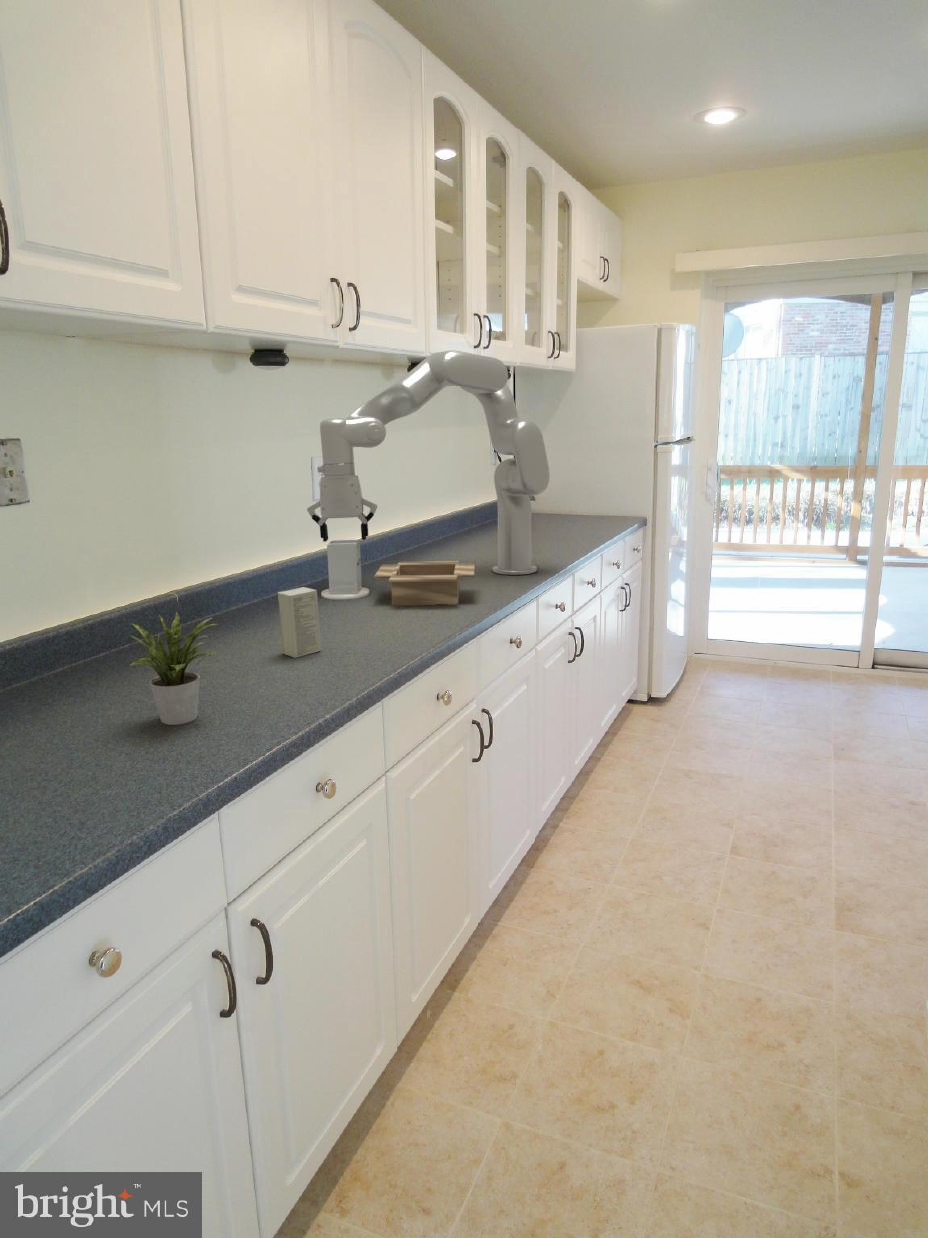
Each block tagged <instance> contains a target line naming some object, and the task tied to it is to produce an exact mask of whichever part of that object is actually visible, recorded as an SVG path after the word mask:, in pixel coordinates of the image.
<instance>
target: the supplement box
mask: <svg viewBox="0 0 928 1238" xmlns="http://www.w3.org/2000/svg"><path fill="white" fill-rule="evenodd" d="M360 541H361V540H360V539H341V540H340V539H337V540H335V539H334V540H331V541H330V542H329V543H328V544H326V549H327V550H326V551H327V569H328V570H327V571H328V573H327V574H328V589H329V592H330V594H358V592H359V590H360V589H361V588H362V587H363V586H362V584H363V583H362V582H363V581H362V562H361V542H360Z"/></svg>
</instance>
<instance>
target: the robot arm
mask: <svg viewBox="0 0 928 1238" xmlns="http://www.w3.org/2000/svg"><path fill="white" fill-rule="evenodd" d="M508 380H509V371H508V368H507V367H506V364H504V362H503V361H502V360H500V359H498V357H497V358H496V357H494V356H493V357H492V356H487V355H482V354H476V353H471V352H466V351H460V350H445V351H438V352H434V353H432V354H430V355H427V357H426V358H425V359H423V360H422V361H421V362H419V363H418V364H417V365H416V366H414V368H411V370H410V371H409V372H408V373H406V374H405V375H404V376H402V377H401V378H400V379H399V380H397V382H395V383H394V384H392V385H391V386H389V387H387V388H386V389H384V390H383V391H382V392H380V393H378V394H377V395H375V396H374V397H372V398H371V399H368V400H367V401H366V402H364V403H362V404H361V406H360V407H358V408H357V409H355V410H354V411H353V412H352V413H351V414H350V415H349V416H347V418H326V419H323V420H321V422H320V424H319V430H320V431H319V433H320V442H321V455H322V465H321V466H318V467H317V473H322V475H323V476H321V477H320V480H319V481H320V483H319V485H320V486H319V501H317V502H315V503H313V504H312V505H310V506H309V507H308V508H306V510H307V512H308V514H309V515H310V517H311V519H312V520H313V521H314V522H315V523H316V524H317V525H318V526H319V531H320V532H319V533H320V538H321V539H322V541H323V542H324V543H327V541H329V534H328V533H329V532H328V524H326V523H327V520H328V519H347V518H348V519H349V518H350V519H351V518H358V519H359V521H360V522H361V524H360V534H361V540H362V541H366V540H367V537H369V526H368V523H369V522H370V521H371V519H372V518H373V517H374V516H375V513H376V511H377V509H378V504H377V503H374V502H371V501H370V500H367V499H366V498H363V494H362V488H361V483H360V479H359V476H358V475H357V474H356V471H355V458H354V457H355V455H354V448H365V449H367V448H369V449H371V448H375V447H378V446H380V445H381V444H382V443H383V442H384V441H385V438H386V436H387V429H386V426H385V425H387V424H389V423H390V422H393V421H395V420H399V419H400V418H405V417H408V416H410V415H412V414H413V413H416V412H417V411H419V410H420V409H421V408H422V407H423V406H424V405H426V403H428V402H429V401H430V400H431V399H432V398H434V397H435V396H436V395H438V393H440V392H441V391H442V390H443V389H445V388H446V387H454V386H455V387H459V388H461V389H462V390H463V391H464V392H466V393H469V394H471V395H473V396H474V397H475V398H476V399H477V400H478V401H479V402H480V404H481V406H482V408H483V411H484V415H485V419H486V423H487V429H488V433H489V437H490V442H491V446H492V448H493V450H494V451H495V452H496V453H497V454H500V455H505V456H513V457H514V458H507V459H504V460H502V461H501V462H499V463H498V465H497V466H496V468H495V469H494V474H493V482H494V488H495V493H496V502H497V503H496V504H497V565H493V566H492V572H493V573H495V574H500V575H508V576H509V575H510V576H513V575H514V576H519V575H529V574H534V573H536V572H537V571H538V569H537V568H538V567H537V566H536V565H534V564H532V516H533V515H532V514H533V513H532V503H531V498H530V496H539V495H541V494H542V493H543V492H545V491H546V489H547V488H548V487H549V483H550V467H549V461H548V457H547V451H546V446H545V441H544V440H545V439H544V437H543V434H542V431H541V429H540V428H539V426H538V425H537V424H536V423H535V422H534V421H532V420H530V419H523V418H519V415H518V410H517V406H516V402H515V399H514V398H515V397H514V395H513V393H512V392H511V389H510V388H509V386H508V385H507V382H508ZM364 506H365V507H367V508H369V512H368V514H367V515H366V514H364ZM319 508H320V509H319ZM317 509H319V510H320V516H321V517H320V516H319V515H318V514H317V513H316V510H317Z"/></svg>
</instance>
